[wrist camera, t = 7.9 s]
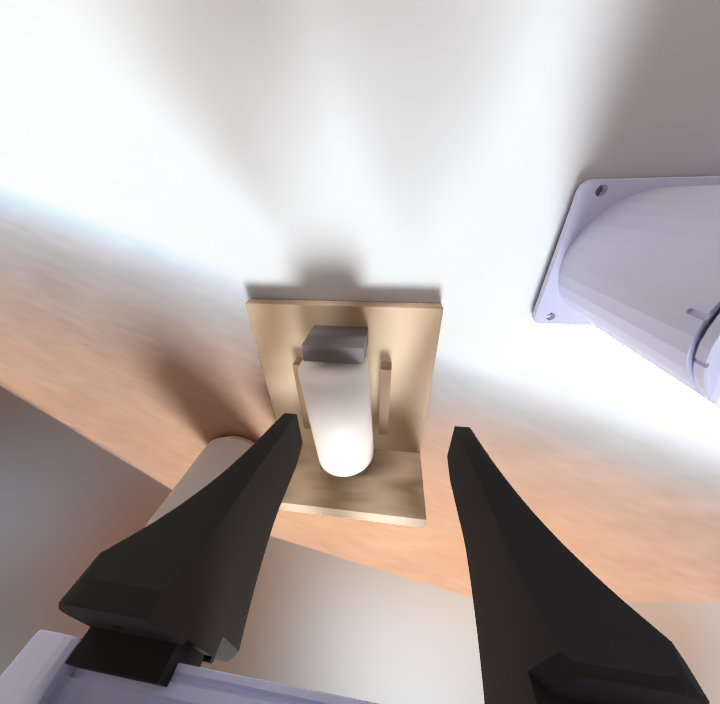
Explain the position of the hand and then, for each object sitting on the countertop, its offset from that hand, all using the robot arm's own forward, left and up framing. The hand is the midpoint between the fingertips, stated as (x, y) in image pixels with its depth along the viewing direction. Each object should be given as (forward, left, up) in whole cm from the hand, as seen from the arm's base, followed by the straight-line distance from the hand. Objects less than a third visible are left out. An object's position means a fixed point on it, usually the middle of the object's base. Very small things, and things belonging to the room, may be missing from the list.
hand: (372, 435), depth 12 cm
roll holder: (+3, +5, -9) cm, 11 cm away
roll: (+3, +5, -8) cm, 10 cm away
